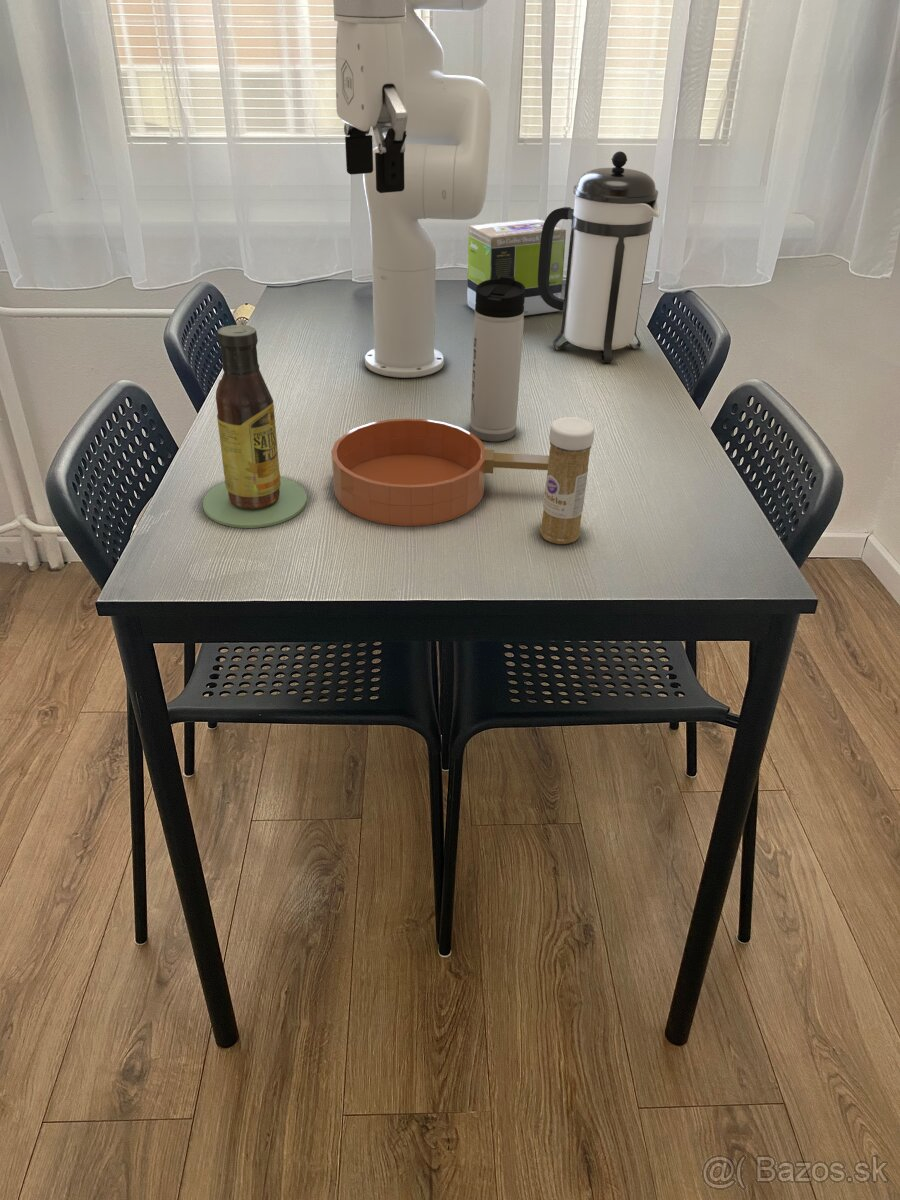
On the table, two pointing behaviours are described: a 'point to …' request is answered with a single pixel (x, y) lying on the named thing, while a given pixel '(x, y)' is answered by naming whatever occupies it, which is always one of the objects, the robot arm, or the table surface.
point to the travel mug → (496, 358)
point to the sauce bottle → (246, 422)
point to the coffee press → (602, 257)
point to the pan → (408, 471)
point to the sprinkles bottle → (566, 479)
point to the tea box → (514, 259)
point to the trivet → (278, 512)
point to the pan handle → (514, 461)
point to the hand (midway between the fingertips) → (374, 182)
